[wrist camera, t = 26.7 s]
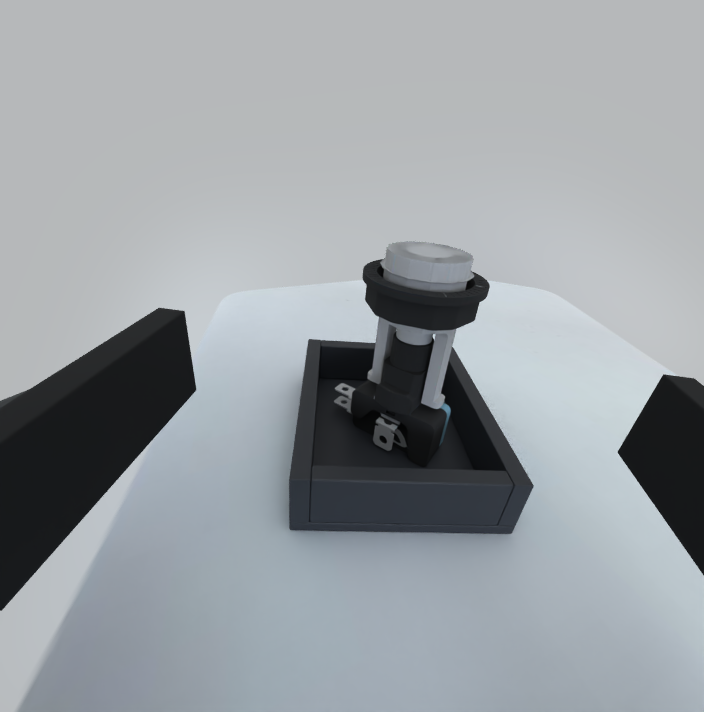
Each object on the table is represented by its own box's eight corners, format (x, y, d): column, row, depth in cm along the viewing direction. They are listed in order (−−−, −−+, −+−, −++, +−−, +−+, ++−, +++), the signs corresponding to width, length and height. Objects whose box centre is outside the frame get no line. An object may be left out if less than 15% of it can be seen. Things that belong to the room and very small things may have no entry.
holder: (289, 530, 15) (289, 479, 14) (307, 377, 25) (308, 339, 24) (512, 534, 16) (534, 485, 15) (443, 384, 26) (453, 347, 25)
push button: (308, 428, 20) (313, 241, 15) (361, 387, 24) (380, 227, 19) (418, 490, 17) (470, 281, 12) (459, 431, 21) (511, 255, 16)
